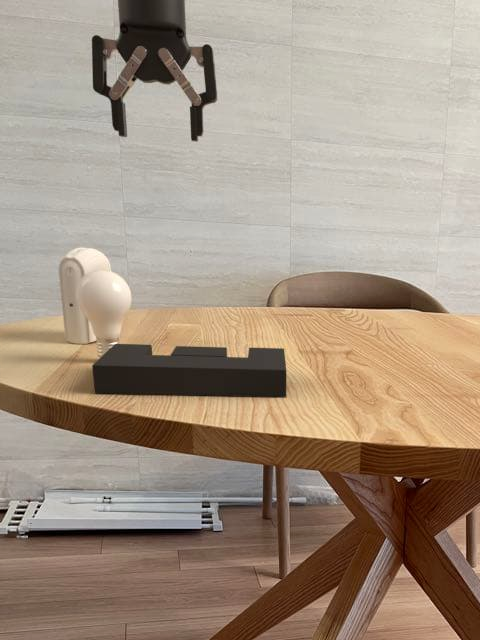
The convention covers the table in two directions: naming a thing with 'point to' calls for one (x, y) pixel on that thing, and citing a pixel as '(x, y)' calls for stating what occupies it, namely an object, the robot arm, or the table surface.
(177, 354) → the black block
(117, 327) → the lightbulb
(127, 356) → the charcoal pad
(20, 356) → the table surface
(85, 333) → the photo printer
